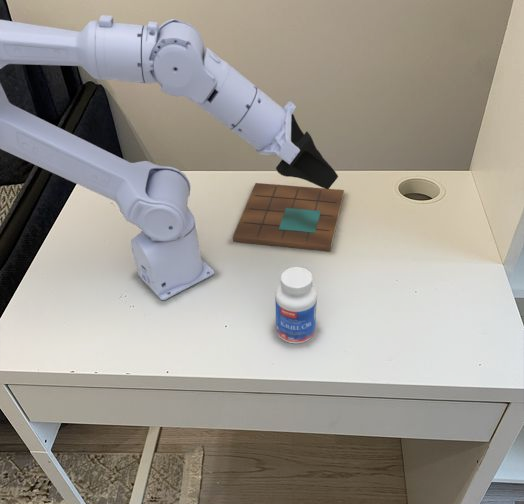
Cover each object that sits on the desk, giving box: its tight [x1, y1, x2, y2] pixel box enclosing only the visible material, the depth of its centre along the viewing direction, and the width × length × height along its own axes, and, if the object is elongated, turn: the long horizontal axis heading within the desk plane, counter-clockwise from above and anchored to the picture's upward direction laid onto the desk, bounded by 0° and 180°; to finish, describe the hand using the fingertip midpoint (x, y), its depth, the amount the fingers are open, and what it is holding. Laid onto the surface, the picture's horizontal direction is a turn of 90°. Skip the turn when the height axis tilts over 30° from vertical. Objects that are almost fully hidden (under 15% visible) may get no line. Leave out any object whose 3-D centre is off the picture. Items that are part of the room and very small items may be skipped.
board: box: [232, 182, 345, 252], centre depth 92 cm, size 16×16×1 cm
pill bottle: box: [274, 266, 318, 344], centre depth 72 cm, size 6×5×10 cm
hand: (324, 171), depth 72 cm, fingers open, 7 cm apart
